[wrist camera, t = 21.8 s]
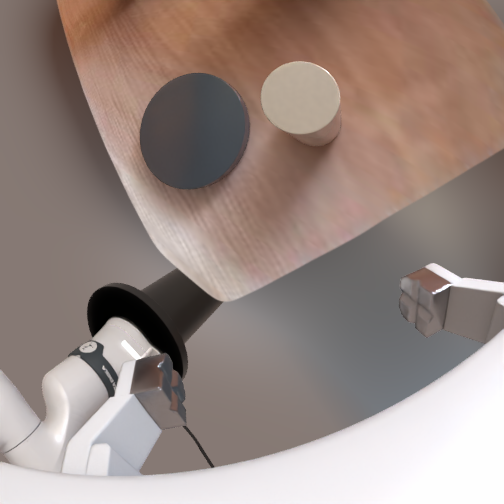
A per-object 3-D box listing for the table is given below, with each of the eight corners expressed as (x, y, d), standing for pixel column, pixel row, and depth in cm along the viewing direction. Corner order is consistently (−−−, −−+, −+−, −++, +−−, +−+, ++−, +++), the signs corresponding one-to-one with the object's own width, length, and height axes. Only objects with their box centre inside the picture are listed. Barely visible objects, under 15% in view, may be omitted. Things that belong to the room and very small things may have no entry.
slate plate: (252, 186, 36) (247, 187, 34) (149, 191, 40) (142, 192, 39) (247, 67, 31) (243, 62, 29) (147, 89, 36) (139, 87, 34)
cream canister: (342, 146, 31) (342, 134, 20) (289, 146, 33) (261, 135, 22) (339, 95, 29) (336, 60, 18) (287, 96, 31) (258, 64, 20)
